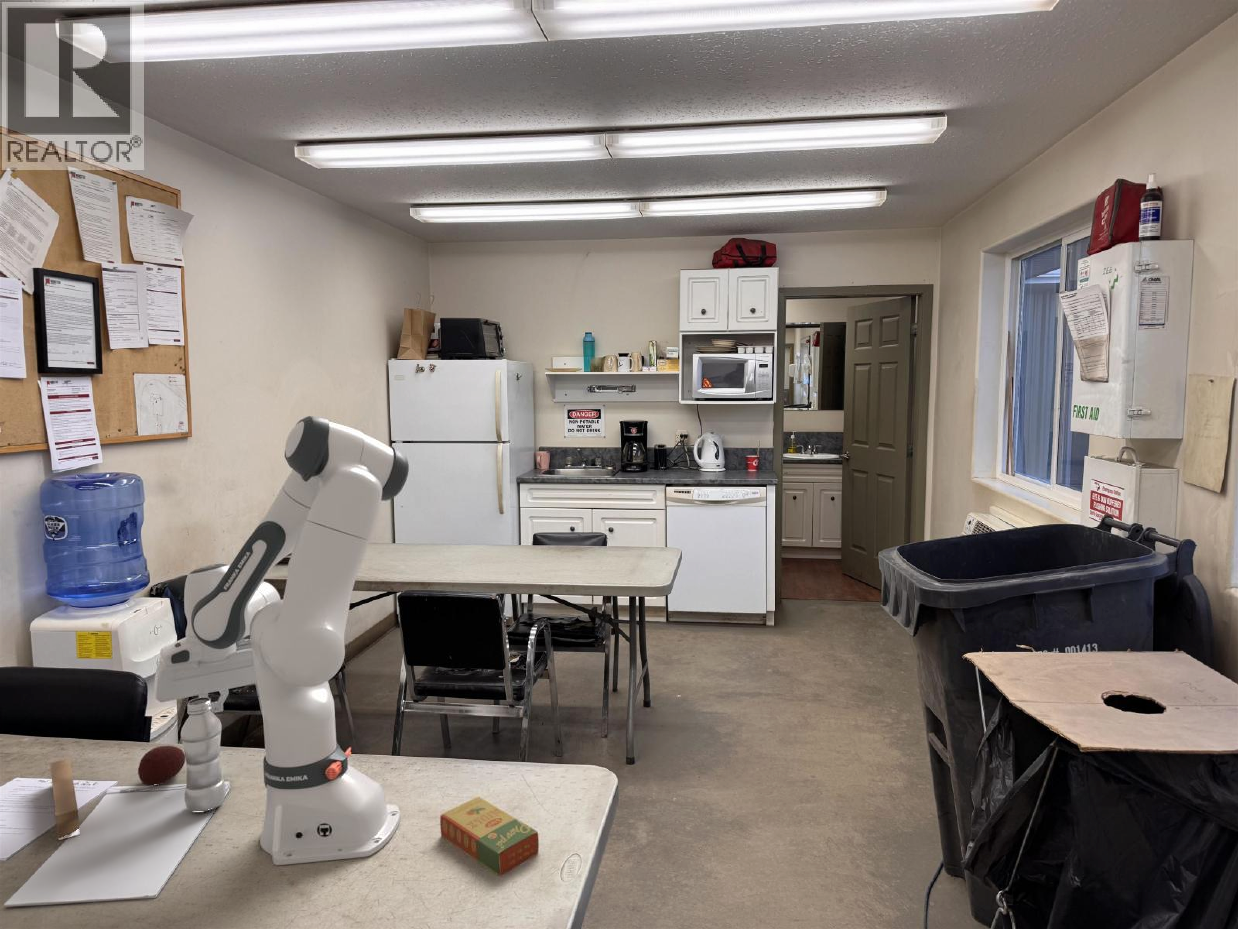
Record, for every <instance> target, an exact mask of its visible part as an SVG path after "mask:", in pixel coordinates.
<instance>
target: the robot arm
mask: <svg viewBox="0 0 1238 929" xmlns="http://www.w3.org/2000/svg"><path fill="white" fill-rule="evenodd" d="M284 449H285V450H284V458H285V461H286V462H287V465H288V466H289V468H291V471H290V473H289V475H288V476H287V477H286V478H285V479H286V480H285V481H284V483H283V485H282V487H281V488H280V490H279V491H278V493H277V495H276V497H275V499H274V501H273V502H272V503H271V505H270V506H269V508H268V510H267V512H266V513H265V515H264V516H263V518H262V520H260V522H259V523H258V525H257V526H256V527H255V529H254V531H253V532H252V533H251V534H250V536H249V537H248V539H247V540H246V541H245V543H244V544H243V545H242V547H241V549H240V550H239V552H238V553H237V555H236V556H235V558H234V559H233V561H232V562H231V564H227V563H215V564H211V565H210V564H209V565H207V566H202V567H199V568H196V569H194V570H192V571H190V572H189V573H188V574H187V577H186V578H185V579H186V580H185V583H184V594H183V596H184V598H183V600H184V603H183V605H184V606H183V608H184V614H185V617H186V621H187V625H186V629H185V637H183V638H181V639H179V640H177V641H175V642H172V643H170V644H167V645H165V646H163V647H162V648H161V649H160V652H159V653H160V655H159V657H160V660H161V661H160V662H159V663H158V664H157V666H156V669H155V674H154V684H153V687H154V688H153V689H154V692H153V693H154V699H156V700H157V701H158V702H159V703H165V702H166V703H167V702H170V701H175V700H180V699H185V698H189V697H190V698H191V697H196V696H198V698H200V697H209V693H215V692H218V693H220V696H219V698H218V699H217V700H216V701H211V705H212V709H211V710H210V711H211V712H212V713H213V714H215V713H220V712H223V711H224V703H225V701H226V699H227V697H228V696H229V689H234V688H239V687H244V686H249V685H255V684H257V689H258V695H259V699H260V700H259V701H260V705H261V710H262V712H261V713H262V720H263V735H264V749H265V751H264V752H265V755H264V757H263V764H262V765H263V766H262V767H263V781H264V782H263V783H264V785H265V788H266V802H265V813H264V819H263V820H264V821H263V827H262V832H261V835H260V840H259V844H260V846H261V848H262V850H263V851H265V852H266V853H268V854H269V855H270V856H271V859H272V862H273V864H274V865H276V866H283V865H294V864H304V863H313V862H324V861H334V860H335V861H336V860H343V859H345V860H346V859H356V858H357V859H358V858H363V857H364V858H365V857H369V856H371V855H373V854H375V853H377V852H378V851H379V850H381V849H382V848H383V847H384V846H385V845H386V844H387V843H388V842H389V841H390V839H392V837H393V835H394V834H395V833H396V831H397V829H398V827H399V825H400V822H401V812H400V808H399V807H398V805H395V804H389V803H387V801H386V796H385V794H384V790H383V788H382V786H381V784H379V782H377V781H375V780H373V779H371V778H370V777H369V776H367V775H365V774H363V773H362V772H360V771H359V770H357V769H356V768H354V767H353V766H351V765H349V763H348V762H349V760H348V758H349V757H350V756H351V755H352V752H351V750H352V747H351V746H350V747H348V748H347V749H346V751H345V752H344V751H343V750H342V749H341V746H340V745H339V743H338V742H337V732H336V731H337V730H336V717H335V716H336V715H335V714H336V713H335V712H336V711H335V700H334V696H333V695H332V691H331V688H330V684H329V681H330V680H331V679H332V678H333V677H335V675H336V674H337V673H338V672H339V670H340V669H341V667H342V666H343V663H344V659H345V657H346V656H345V654H346V647H345V633H346V626H347V623H348V618H349V612H350V605H351V600H352V595H353V590H354V586H355V582H356V580H357V576H358V574H359V571H360V569H361V565H362V563H363V560H364V557H365V555H366V551H367V550H368V546H369V544H370V540H372V536H373V533H374V530H375V527H376V524H377V520H378V516H379V513H380V507H381V503H382V502H384V501H385V502H386V501H387V502H388V501H389V500H392V499H393V498H395V497H397V496H398V495H400V493H401V491H402V490H403V488H404V486H405V484H406V482H407V478H408V476H409V470H410V464H409V461H408V457H407V456H406V455H405V454H404V453H403V452H402V451H401V450H399V449H397V448H396V447H395V446H392V445H387V444H385V443H383V442H381V441H380V440H378V439H377V438H374V437H371V436H369V435H367V434H364V433H363V432H362V431H360V430H358V429H355V428H352V427H350V426H346V425H343V424H340V423H336V422H332V421H329V419H328V418H324V417H319V416H312V415H311V416H310V415H309V416H305V417H303V418H302V419H300V420H298V422H297V423H296V424H295V426H294V427H293V428H292V429H291V431H290V432H289V434H288V436H287V437H286V441H285V447H284ZM290 554H291V555H290ZM289 555H290V559H289V561H288V564H287V578H286V584H285V589H284V595H283V599H282V598H281V594H280V593H279V592H280V591H278V590H277V588H276V587H275V586H274V585H273V584H272V583H269V582H268V581H266V580H265V579H266V578H267V576H268V574H269V573H270V572H271V570H272V569H273V568H274V567H275V566H276V565H278V563H279V562H281V561H282V560H283V559H284V558H285V557H287V556H289ZM264 580H265V581H264ZM248 636H249V638H247V639H246V637H248Z"/></svg>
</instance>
